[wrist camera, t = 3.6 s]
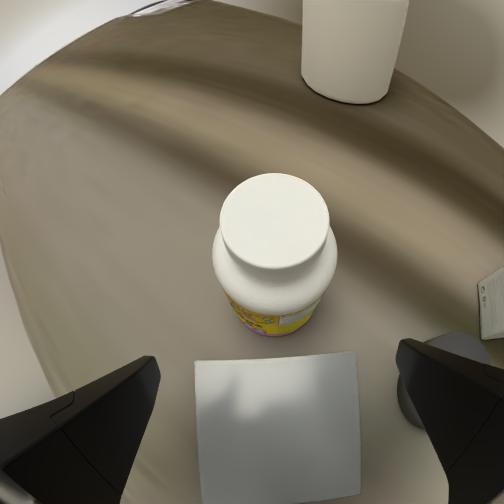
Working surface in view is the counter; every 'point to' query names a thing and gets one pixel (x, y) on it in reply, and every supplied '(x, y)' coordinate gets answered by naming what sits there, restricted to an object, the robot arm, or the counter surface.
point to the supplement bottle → (274, 252)
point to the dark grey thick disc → (451, 343)
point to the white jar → (351, 47)
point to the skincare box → (492, 305)
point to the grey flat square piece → (278, 429)
